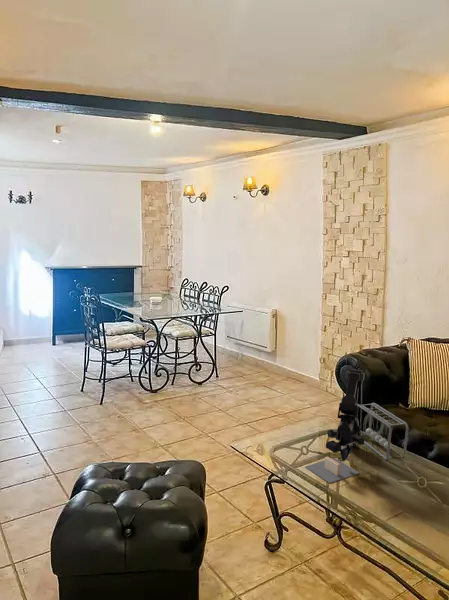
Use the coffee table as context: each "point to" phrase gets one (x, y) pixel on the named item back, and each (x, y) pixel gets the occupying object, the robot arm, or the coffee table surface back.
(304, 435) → the coffee table surface
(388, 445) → the newton's cradle
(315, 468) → the mat
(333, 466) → the tile
